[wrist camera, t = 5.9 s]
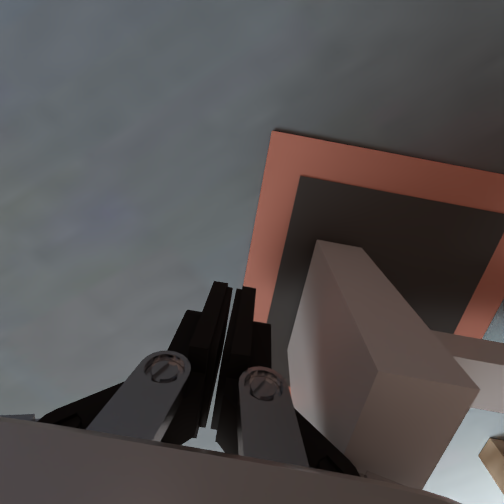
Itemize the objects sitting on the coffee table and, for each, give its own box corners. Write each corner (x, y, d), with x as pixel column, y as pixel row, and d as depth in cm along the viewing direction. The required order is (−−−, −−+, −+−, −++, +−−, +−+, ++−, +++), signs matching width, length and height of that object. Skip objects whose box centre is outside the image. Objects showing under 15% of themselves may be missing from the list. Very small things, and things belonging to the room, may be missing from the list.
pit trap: (429, 428, 17) (432, 433, 17) (223, 391, 17) (222, 396, 17) (560, 185, 12) (567, 186, 12) (271, 130, 12) (272, 130, 12)
